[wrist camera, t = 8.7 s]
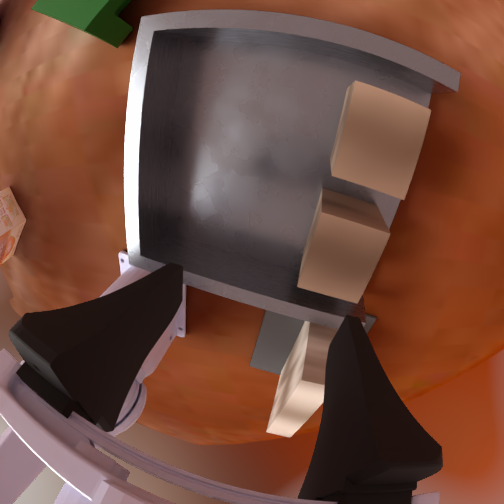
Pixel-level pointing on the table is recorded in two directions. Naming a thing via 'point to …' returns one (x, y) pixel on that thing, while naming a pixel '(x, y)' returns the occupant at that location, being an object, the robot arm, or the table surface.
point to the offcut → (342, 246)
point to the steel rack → (250, 146)
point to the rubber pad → (281, 340)
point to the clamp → (90, 17)
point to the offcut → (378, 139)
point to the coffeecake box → (9, 224)
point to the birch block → (301, 380)
